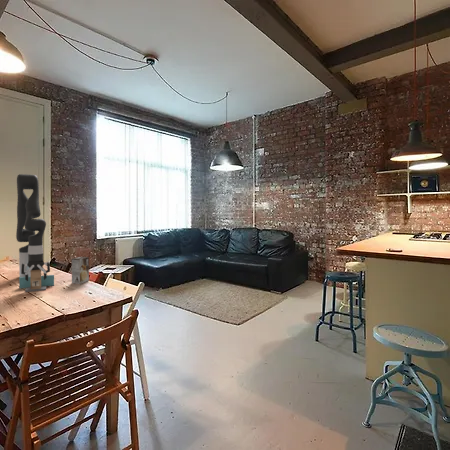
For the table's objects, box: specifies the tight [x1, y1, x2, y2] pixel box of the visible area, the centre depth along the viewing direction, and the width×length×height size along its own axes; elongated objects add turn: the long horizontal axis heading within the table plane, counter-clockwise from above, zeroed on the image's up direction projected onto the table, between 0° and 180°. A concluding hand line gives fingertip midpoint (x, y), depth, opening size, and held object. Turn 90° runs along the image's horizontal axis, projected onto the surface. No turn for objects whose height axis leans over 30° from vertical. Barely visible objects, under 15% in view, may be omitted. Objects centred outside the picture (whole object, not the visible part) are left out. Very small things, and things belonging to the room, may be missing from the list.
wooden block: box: [30, 269, 42, 289], centre depth 177 cm, size 5×5×11 cm
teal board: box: [18, 274, 55, 289], centre depth 184 cm, size 1×18×6 cm, turn 118°
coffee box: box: [71, 256, 90, 285], centre depth 197 cm, size 9×6×16 cm
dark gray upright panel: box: [24, 286, 47, 293], centre depth 178 cm, size 7×10×1 cm
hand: (36, 280), depth 178 cm, fingers open, 8 cm apart
